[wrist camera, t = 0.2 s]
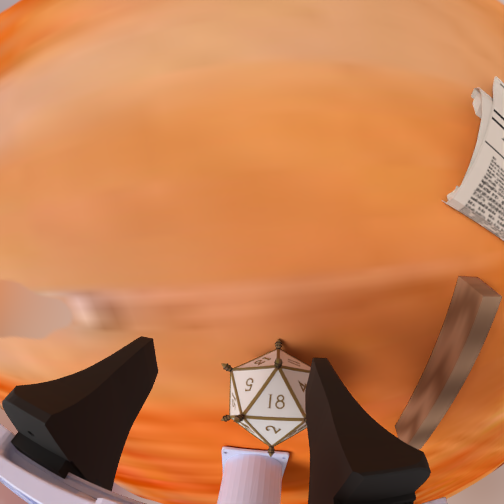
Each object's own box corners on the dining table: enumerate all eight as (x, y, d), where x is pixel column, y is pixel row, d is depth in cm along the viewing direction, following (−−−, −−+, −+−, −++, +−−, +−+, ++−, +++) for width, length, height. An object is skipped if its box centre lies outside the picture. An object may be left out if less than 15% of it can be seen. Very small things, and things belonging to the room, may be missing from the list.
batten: (412, 424, 26) (420, 448, 22) (394, 426, 26) (402, 451, 22) (477, 277, 20) (502, 296, 16) (458, 275, 20) (483, 296, 16)
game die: (291, 328, 27) (369, 354, 18) (285, 406, 26) (351, 450, 18) (200, 335, 23) (256, 379, 14) (201, 421, 22) (249, 488, 14)
